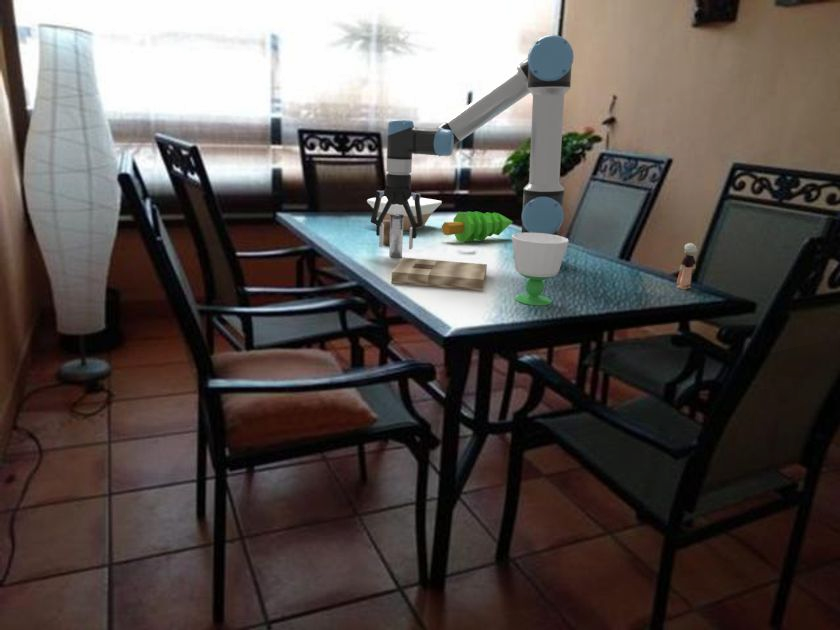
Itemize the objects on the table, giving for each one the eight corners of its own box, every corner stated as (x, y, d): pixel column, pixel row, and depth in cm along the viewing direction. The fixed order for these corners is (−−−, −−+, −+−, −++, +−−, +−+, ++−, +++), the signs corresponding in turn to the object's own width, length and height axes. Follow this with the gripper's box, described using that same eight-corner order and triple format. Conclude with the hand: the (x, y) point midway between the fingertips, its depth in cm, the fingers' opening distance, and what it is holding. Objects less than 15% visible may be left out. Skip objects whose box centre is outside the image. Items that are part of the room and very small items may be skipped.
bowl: (445, 227, 254) (447, 200, 251) (412, 235, 234) (413, 206, 231) (396, 219, 266) (397, 194, 263) (360, 226, 246) (361, 199, 243)
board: (486, 274, 181) (486, 264, 181) (482, 290, 164) (483, 279, 164) (403, 267, 185) (403, 257, 184) (391, 282, 168) (391, 271, 167)
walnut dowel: (395, 243, 218) (395, 220, 215) (392, 245, 214) (393, 222, 212) (383, 242, 218) (384, 219, 216) (381, 244, 215) (381, 221, 212)
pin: (403, 255, 200) (404, 214, 196) (400, 258, 196) (402, 216, 192) (390, 254, 201) (391, 213, 197) (387, 257, 197) (389, 215, 193)
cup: (554, 294, 165) (561, 233, 160) (567, 309, 152) (575, 244, 147) (501, 292, 164) (507, 231, 159) (510, 307, 151) (517, 242, 146)
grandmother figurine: (680, 284, 182) (688, 240, 178) (694, 286, 180) (702, 242, 176) (671, 288, 176) (679, 243, 173) (685, 291, 174) (693, 246, 170)
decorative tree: (441, 206, 223) (509, 201, 237) (434, 234, 230) (500, 227, 244) (458, 223, 216) (526, 217, 230) (450, 251, 223) (517, 243, 237)
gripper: (435, 174, 193) (431, 247, 200) (366, 170, 196) (365, 242, 202) (432, 176, 186) (428, 252, 193) (361, 172, 189) (359, 247, 195)
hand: (395, 247), depth 198 cm, fingers open, 9 cm apart
